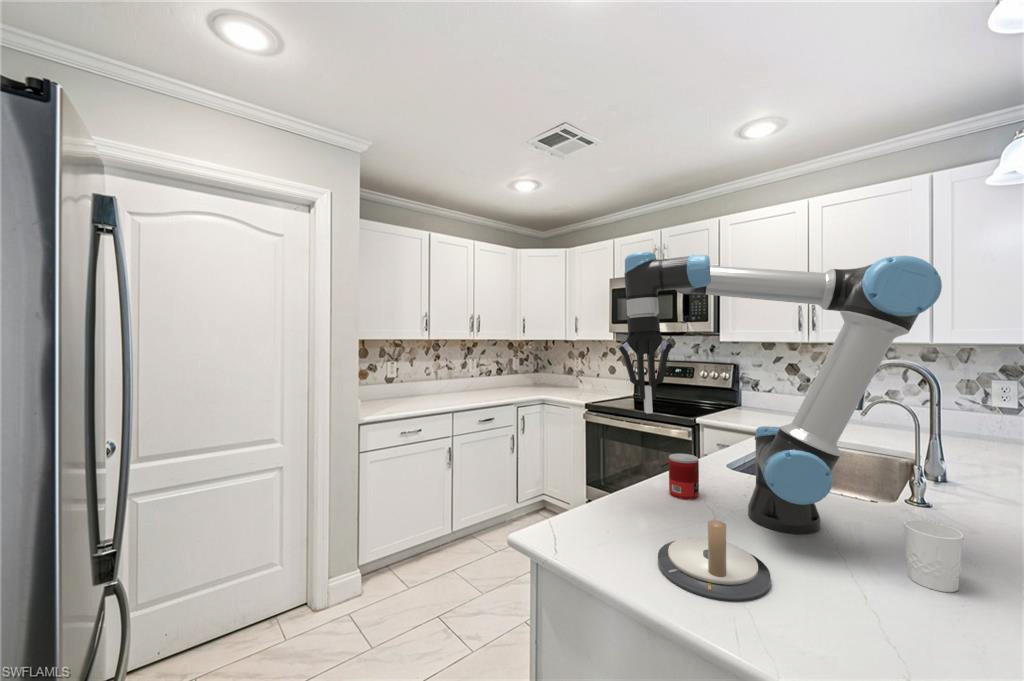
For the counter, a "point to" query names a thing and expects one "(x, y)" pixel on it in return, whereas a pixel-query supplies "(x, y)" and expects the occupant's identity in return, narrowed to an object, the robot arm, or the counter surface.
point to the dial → (713, 558)
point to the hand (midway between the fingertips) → (648, 412)
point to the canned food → (684, 476)
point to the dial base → (713, 590)
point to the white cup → (933, 554)
